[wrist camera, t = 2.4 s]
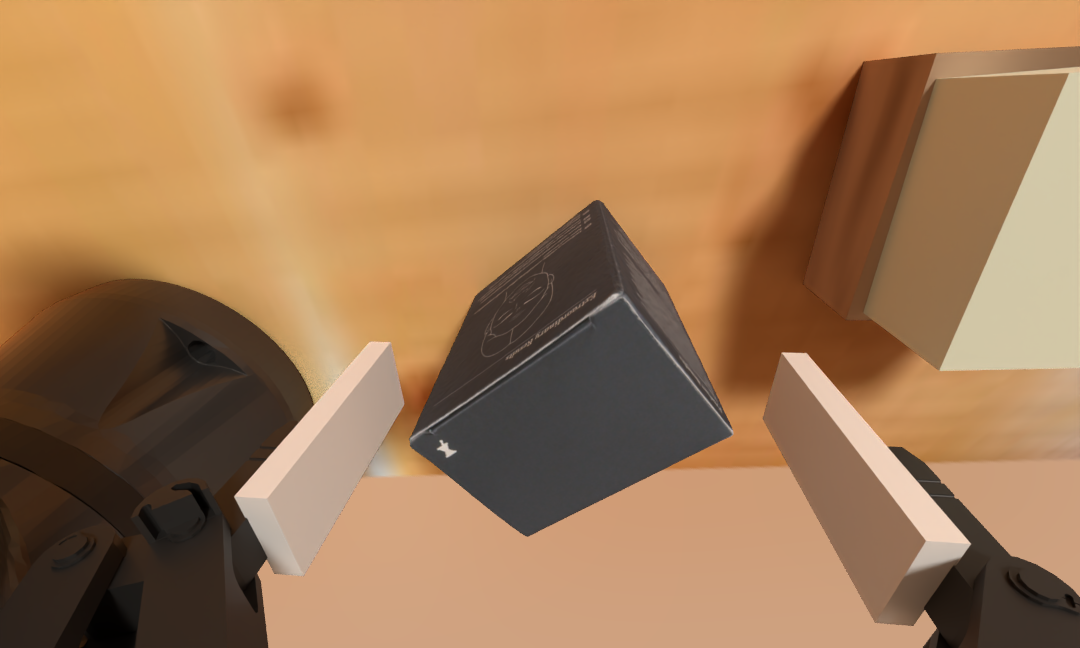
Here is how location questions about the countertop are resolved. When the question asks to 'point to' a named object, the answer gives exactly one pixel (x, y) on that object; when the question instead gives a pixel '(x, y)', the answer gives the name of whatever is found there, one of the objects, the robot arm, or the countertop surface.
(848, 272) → the tower base
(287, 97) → the countertop surface
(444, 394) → the box
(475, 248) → the countertop surface
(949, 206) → the tower top
